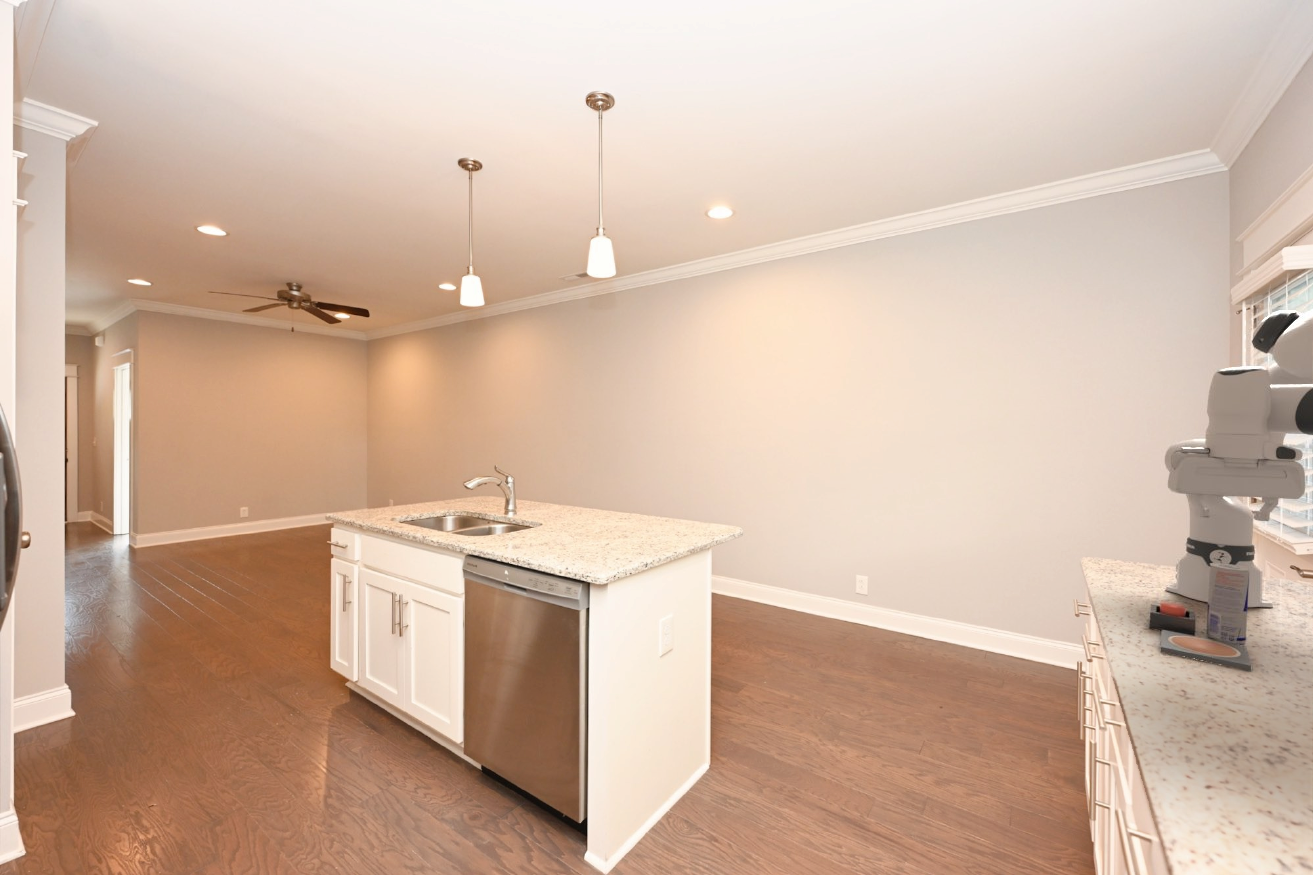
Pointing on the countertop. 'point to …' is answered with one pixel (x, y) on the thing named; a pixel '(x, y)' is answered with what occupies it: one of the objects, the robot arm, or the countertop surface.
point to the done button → (1172, 609)
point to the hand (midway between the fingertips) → (1231, 518)
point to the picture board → (1205, 649)
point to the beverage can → (1227, 603)
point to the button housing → (1172, 621)
